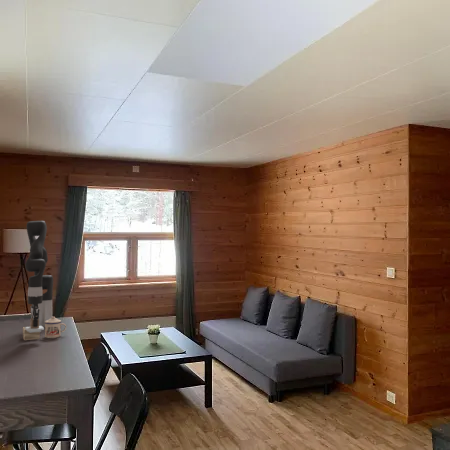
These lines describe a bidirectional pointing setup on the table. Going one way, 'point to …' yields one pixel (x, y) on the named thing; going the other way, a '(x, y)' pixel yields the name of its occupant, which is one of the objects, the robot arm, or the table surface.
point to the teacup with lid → (53, 328)
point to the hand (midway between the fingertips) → (34, 325)
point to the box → (30, 335)
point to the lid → (34, 329)
